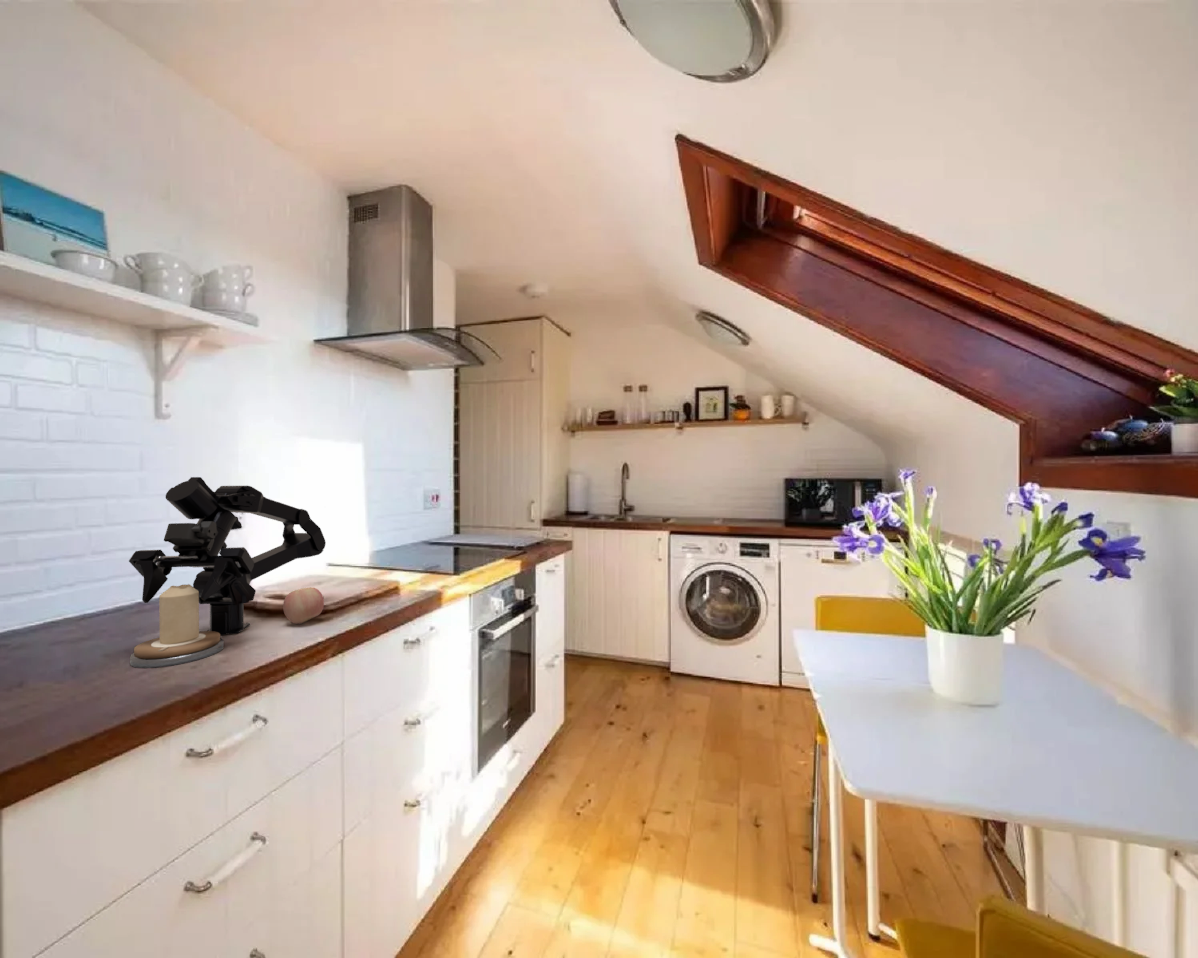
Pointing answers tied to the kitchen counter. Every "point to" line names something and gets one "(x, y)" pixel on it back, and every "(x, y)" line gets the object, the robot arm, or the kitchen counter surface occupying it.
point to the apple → (303, 605)
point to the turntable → (176, 646)
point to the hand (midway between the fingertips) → (174, 600)
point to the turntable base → (176, 658)
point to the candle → (179, 614)
